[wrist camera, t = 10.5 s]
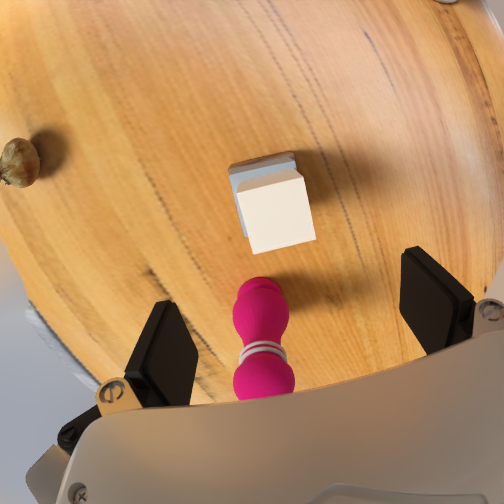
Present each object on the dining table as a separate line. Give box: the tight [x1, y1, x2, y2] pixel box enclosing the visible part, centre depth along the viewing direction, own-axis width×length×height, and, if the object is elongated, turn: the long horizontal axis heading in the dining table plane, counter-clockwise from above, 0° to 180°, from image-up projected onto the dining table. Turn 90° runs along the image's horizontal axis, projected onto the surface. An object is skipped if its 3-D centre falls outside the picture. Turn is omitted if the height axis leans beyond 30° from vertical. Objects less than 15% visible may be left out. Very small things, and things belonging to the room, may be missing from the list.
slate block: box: [229, 157, 297, 237], centre depth 28 cm, size 6×6×4 cm
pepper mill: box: [233, 277, 295, 401], centre depth 31 cm, size 7×7×20 cm
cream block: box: [236, 168, 316, 254], centre depth 23 cm, size 5×5×5 cm
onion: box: [0, 138, 42, 188], centre depth 28 cm, size 8×8×8 cm
